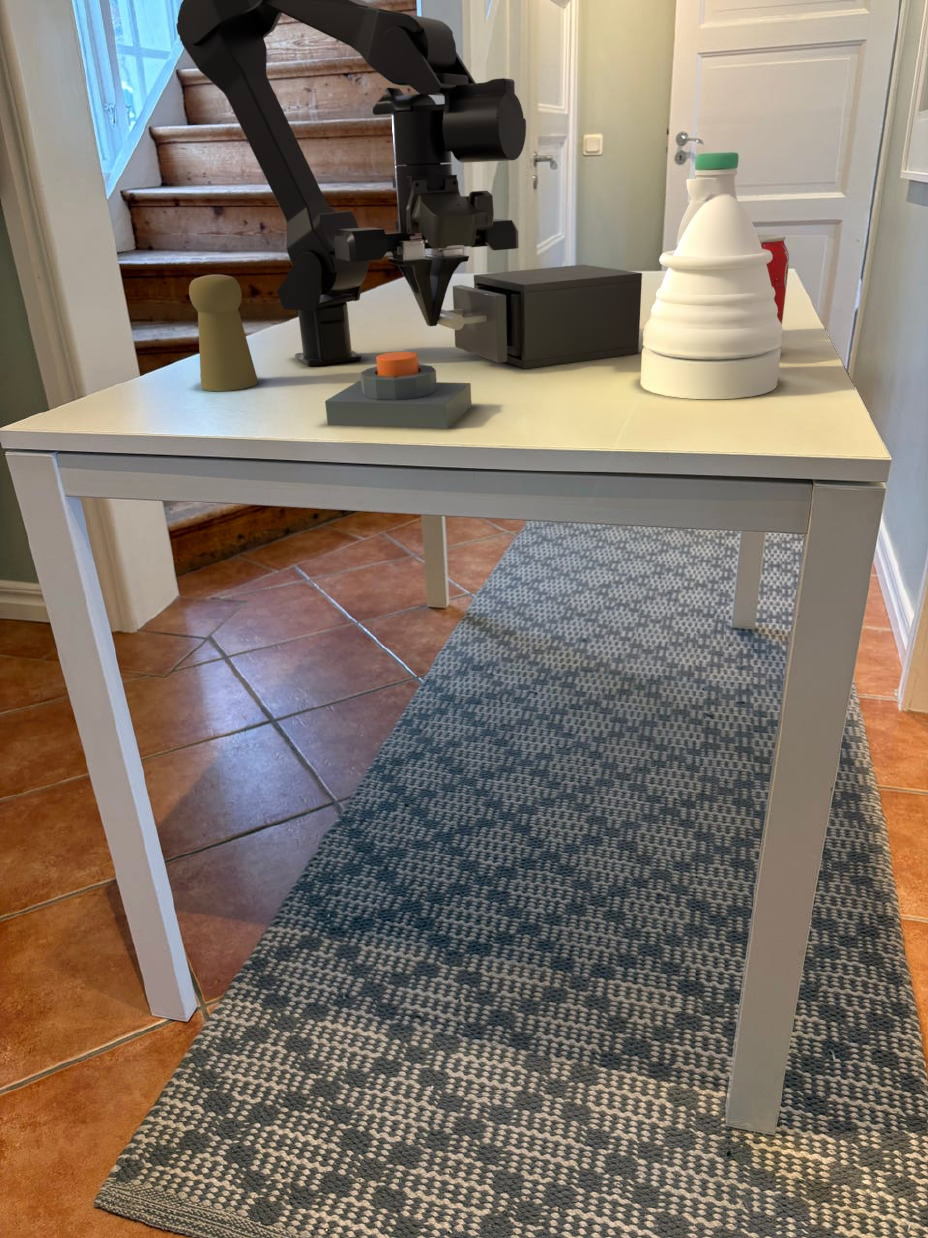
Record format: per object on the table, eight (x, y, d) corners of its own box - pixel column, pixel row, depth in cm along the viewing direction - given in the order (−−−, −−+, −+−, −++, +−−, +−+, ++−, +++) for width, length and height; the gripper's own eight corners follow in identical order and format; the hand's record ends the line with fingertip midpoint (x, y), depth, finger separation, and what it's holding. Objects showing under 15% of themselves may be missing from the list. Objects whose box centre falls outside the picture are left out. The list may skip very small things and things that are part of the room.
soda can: (781, 361, 95) (796, 238, 90) (713, 361, 96) (723, 240, 91) (775, 348, 101) (788, 233, 96) (710, 348, 103) (719, 235, 97)
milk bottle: (744, 336, 109) (762, 150, 100) (724, 347, 103) (741, 151, 94) (683, 332, 113) (695, 153, 103) (660, 343, 107) (671, 154, 98)
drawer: (460, 367, 95) (458, 299, 92) (421, 351, 104) (417, 289, 101) (605, 348, 101) (607, 284, 98) (555, 334, 110) (555, 275, 107)
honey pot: (627, 395, 84) (636, 182, 76) (654, 367, 95) (664, 178, 87) (770, 402, 80) (796, 176, 72) (782, 372, 90) (805, 172, 82)
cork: (208, 393, 92) (189, 280, 87) (195, 383, 97) (176, 275, 92) (265, 385, 95) (249, 275, 90) (250, 376, 100) (234, 270, 95)
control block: (327, 425, 79) (322, 379, 77) (361, 403, 86) (357, 360, 84) (446, 429, 76) (444, 382, 74) (471, 406, 83) (470, 362, 81)
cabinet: (524, 368, 97) (524, 284, 93) (476, 350, 107) (473, 274, 104) (638, 353, 102) (642, 272, 98) (581, 337, 112) (582, 264, 109)
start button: (372, 379, 78) (370, 359, 77) (386, 371, 81) (384, 351, 81) (411, 380, 77) (409, 359, 77) (424, 371, 80) (422, 351, 80)
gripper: (359, 167, 81) (374, 346, 88) (543, 159, 87) (543, 326, 94) (325, 169, 90) (341, 330, 97) (493, 161, 96) (497, 313, 103)
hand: (432, 325), depth 97 cm, fingers closed
